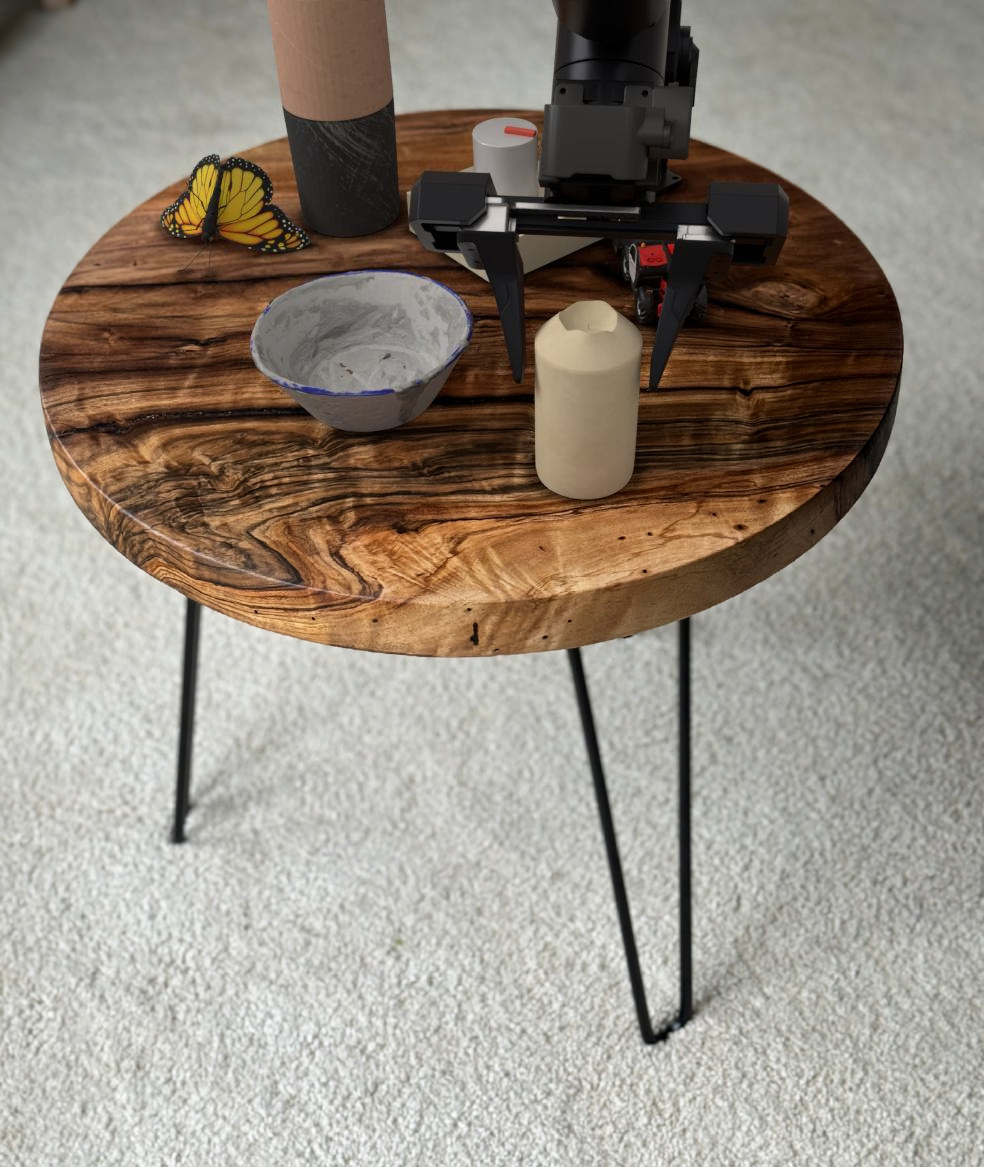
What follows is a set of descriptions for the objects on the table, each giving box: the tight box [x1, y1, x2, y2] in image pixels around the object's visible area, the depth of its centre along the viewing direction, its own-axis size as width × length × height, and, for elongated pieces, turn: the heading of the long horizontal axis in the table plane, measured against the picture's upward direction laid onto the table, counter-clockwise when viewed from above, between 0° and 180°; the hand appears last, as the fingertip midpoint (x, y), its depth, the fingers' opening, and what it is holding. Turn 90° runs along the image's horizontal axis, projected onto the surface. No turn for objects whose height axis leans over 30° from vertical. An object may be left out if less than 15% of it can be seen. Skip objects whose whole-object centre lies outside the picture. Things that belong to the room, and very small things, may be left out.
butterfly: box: [159, 153, 311, 278], centre depth 86 cm, size 12×9×5 cm
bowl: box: [249, 269, 475, 433], centre depth 73 cm, size 13×13×5 cm
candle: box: [534, 300, 644, 500], centre depth 66 cm, size 6×6×10 cm
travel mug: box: [266, 0, 400, 238], centre depth 83 cm, size 8×8×20 cm
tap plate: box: [406, 159, 604, 283], centre depth 86 cm, size 10×10×3 cm
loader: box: [610, 219, 708, 325], centre depth 80 cm, size 12×5×5 cm, turn 5°
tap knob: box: [471, 116, 539, 197], centre depth 84 cm, size 4×4×5 cm
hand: (585, 386), depth 63 cm, fingers open, 6 cm apart
